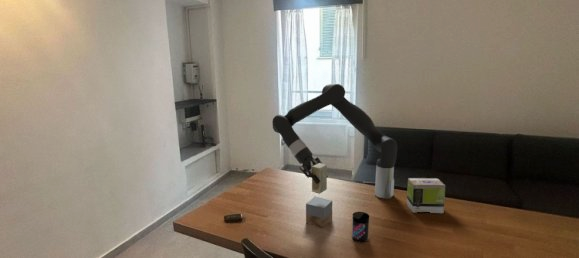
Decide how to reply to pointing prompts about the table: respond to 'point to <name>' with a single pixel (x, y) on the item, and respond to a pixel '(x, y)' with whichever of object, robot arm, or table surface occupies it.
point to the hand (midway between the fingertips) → (322, 180)
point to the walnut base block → (319, 220)
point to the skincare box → (320, 178)
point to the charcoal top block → (319, 207)
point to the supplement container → (360, 226)
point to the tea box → (426, 195)
